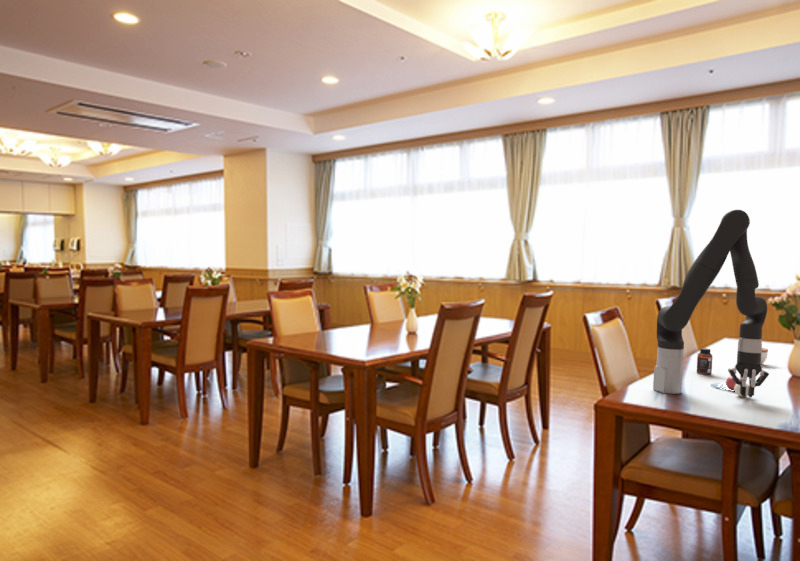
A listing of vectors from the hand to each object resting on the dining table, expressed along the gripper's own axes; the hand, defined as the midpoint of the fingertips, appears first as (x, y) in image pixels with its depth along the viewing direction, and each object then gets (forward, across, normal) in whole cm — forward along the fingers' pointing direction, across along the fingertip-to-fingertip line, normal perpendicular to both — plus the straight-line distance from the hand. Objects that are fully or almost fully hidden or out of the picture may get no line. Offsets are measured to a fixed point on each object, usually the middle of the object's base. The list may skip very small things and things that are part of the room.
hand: (746, 396), depth 207 cm
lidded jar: (+2, -27, -82) cm, 86 cm away
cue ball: (-1, 0, -6) cm, 6 cm away
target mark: (+2, 0, -20) cm, 20 cm away
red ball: (-1, 0, -16) cm, 16 cm away
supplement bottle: (+2, +4, -46) cm, 46 cm away
